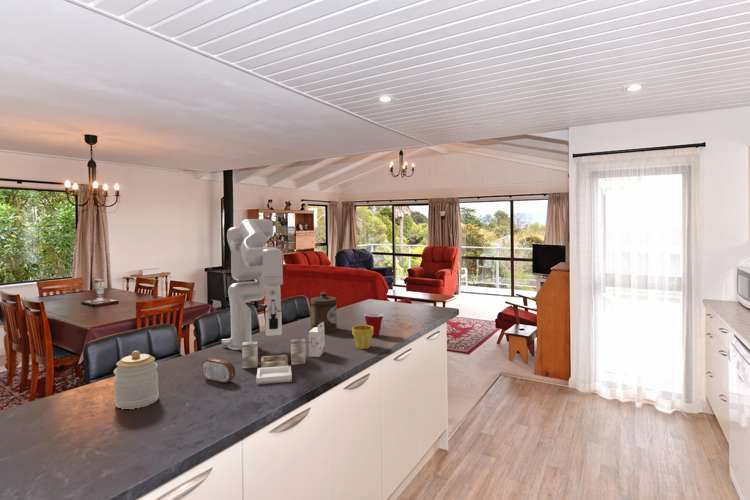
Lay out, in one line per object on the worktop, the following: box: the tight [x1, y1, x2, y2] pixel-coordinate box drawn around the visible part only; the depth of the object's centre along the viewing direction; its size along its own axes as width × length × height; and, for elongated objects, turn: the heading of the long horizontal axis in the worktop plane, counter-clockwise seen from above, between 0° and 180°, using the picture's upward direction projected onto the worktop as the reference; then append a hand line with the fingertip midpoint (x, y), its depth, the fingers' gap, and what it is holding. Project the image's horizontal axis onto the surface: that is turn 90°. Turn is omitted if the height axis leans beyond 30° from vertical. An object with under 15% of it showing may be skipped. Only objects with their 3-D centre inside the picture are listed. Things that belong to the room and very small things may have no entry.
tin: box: [201, 356, 236, 384], centre depth 159 cm, size 15×3×8 cm, turn 65°
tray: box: [255, 365, 293, 385], centre depth 162 cm, size 13×11×2 cm
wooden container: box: [309, 291, 338, 334], centre depth 236 cm, size 15×15×22 cm
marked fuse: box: [264, 307, 283, 337], centre depth 161 cm, size 6×4×10 cm, turn 103°
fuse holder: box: [241, 337, 307, 369], centre depth 178 cm, size 26×9×10 cm, turn 103°
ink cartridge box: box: [308, 322, 326, 358], centre depth 192 cm, size 9×5×15 cm, turn 168°
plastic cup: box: [363, 312, 385, 338], centre depth 224 cm, size 11×11×12 cm
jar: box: [113, 350, 160, 410], centre depth 140 cm, size 13×13×18 cm
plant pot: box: [351, 324, 373, 350], centre depth 203 cm, size 10×10×10 cm
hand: (273, 326), depth 161 cm, fingers closed on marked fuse, 4 cm apart
